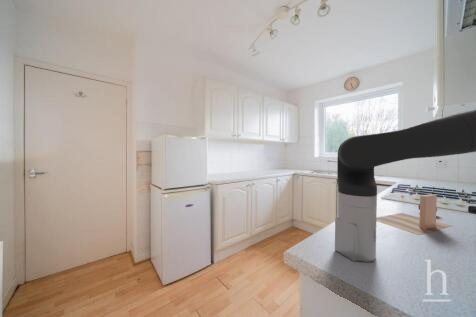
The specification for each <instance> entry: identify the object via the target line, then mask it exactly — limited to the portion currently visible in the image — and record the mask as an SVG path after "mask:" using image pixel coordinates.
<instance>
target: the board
mask: <svg viewBox="0 0 476 317" xmlns="http://www.w3.org/2000/svg"><path fill="white" fill-rule="evenodd" d="M376 222H379V223H381V224H384V225H387V226H391V227H394V228H396V229H399V230H402V231H406V232H409V233H411V234H415V235H417V236H420V235H424V234H428V233H432V232H436V231H439V230H442V229H446V228H450V227H453V225H451V224H447V223H445V222H444V223H443V222H440V221H436V227H433V228H429V229H426V230H425V229H421V228H419V224H420V216H416V215H412V214H408V213H405V212H399V213H395V214H394V213H392V214H388V215H383V216H378V217H377V216H376Z"/></svg>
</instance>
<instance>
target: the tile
mask: <svg viewBox="0 0 476 317" xmlns="http://www.w3.org/2000/svg"><path fill="white" fill-rule="evenodd" d="M437 197H438V196H437V194H434V193H433V194H431V193H429V194H423V195H420V196H419V204H420V210H419V217H420V224H419V228H421V229H425V230H426V229H429V228H433V227H436V222H437V212H436V207H437V201H438V200H437Z"/></svg>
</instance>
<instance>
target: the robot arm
mask: <svg viewBox="0 0 476 317" xmlns="http://www.w3.org/2000/svg"><path fill="white" fill-rule="evenodd" d="M468 153H469V154H470V153H476V109H473V110H468V111H464V112H459V113H455V114H451V115H450V114H449V115H447V116H443V117H442V116H441V117H439V118H434V119H430V120H428V121H424V122H421V123H418V124H415V125H413V126H409V127H407V128H402V129H399V130H398V129H397V130H393V131H386V132H380V133H372V134H370V133H369V134H361V135H354V136H350V137H348V138H347V139H346V140H344V141H343V142H341V144H340V145H339V147H338V149H337V158H336V159H337V160H336V161H337V164H336V165H337V166H336V167H337V217H336V218H335V220H334V250H335V251H336V252H338V253H339V254H341V255H343V256H344V257H346V258H348V259H350V260H351V261H353V262H357V261H359V262H365V263H366V262H367V263H368V262H369V263H370V262H373V261H376V259H377V258H376V257H377V221H376V218H377V214H378V213H377V209H378V208H377V206H378V205H377V204H378V202H377V201H378V186H377V182H376V179H375V167H378V166H383V165H387V164H390V163H394V162H400V161H404V160H411V159H420V158H421V159H423V158H436V157H446V156H455V155H462V154H463V155H464V154H468ZM467 212H468V213H469V214H472V215H473V214H474V215H476V205H469V206H467Z"/></svg>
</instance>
